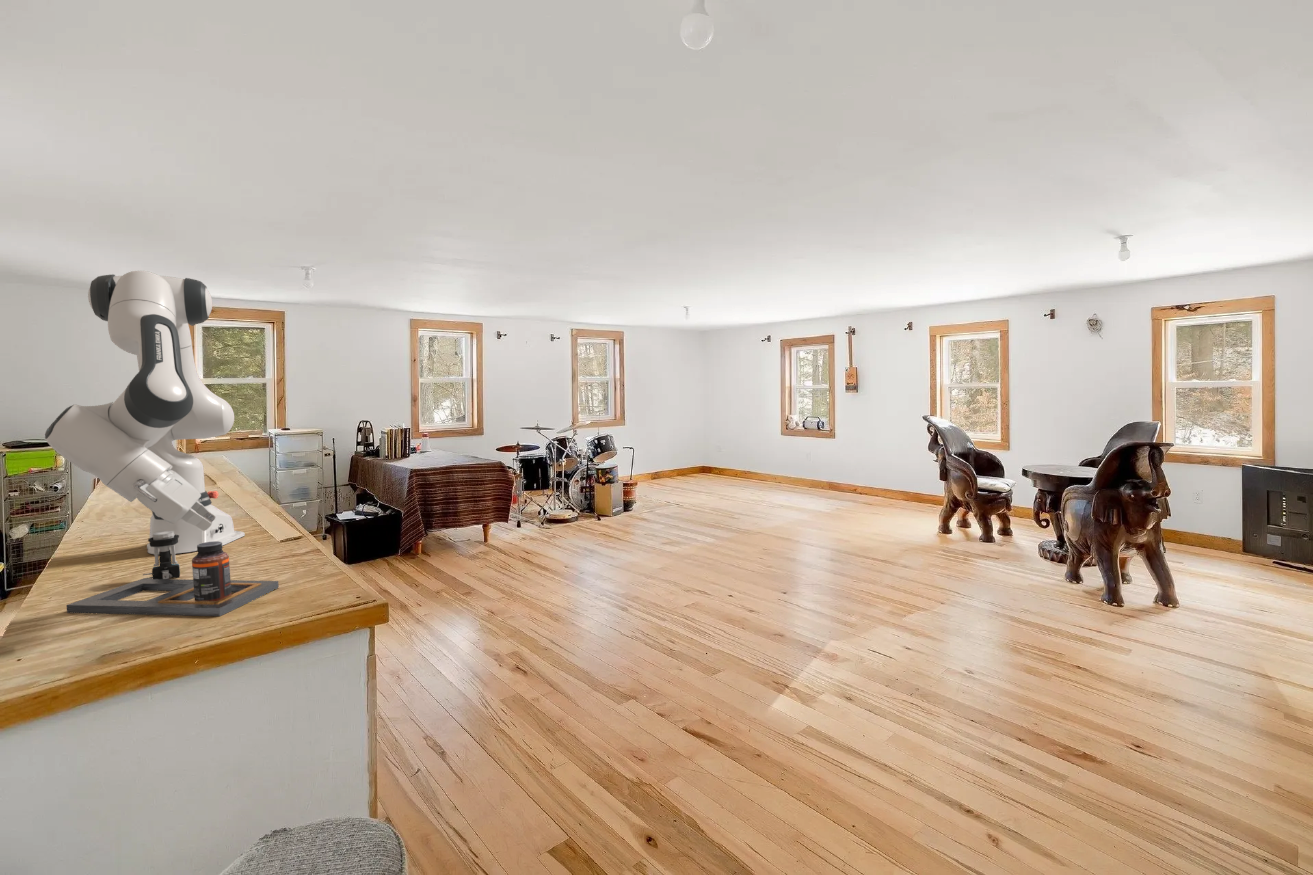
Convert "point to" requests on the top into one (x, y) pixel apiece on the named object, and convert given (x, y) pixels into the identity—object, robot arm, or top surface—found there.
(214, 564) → the supplement bottle
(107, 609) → the grey rectangular frame
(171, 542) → the push button
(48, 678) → the top surface
